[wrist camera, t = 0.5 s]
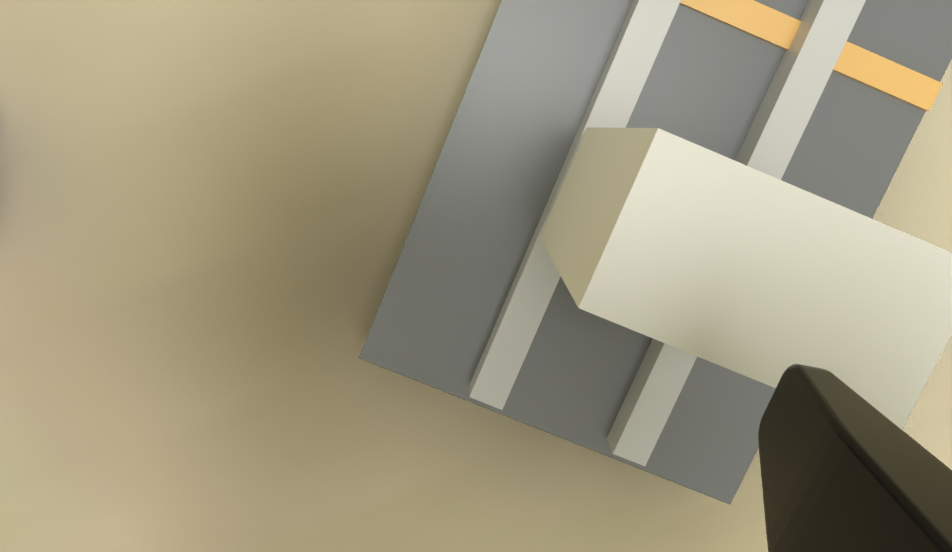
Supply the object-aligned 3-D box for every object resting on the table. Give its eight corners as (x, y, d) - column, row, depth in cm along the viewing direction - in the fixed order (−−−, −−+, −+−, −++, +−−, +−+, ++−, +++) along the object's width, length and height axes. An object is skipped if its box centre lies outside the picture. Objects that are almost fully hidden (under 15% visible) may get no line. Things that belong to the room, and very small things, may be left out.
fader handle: (714, 302, 24) (897, 438, 13) (534, 227, 24) (578, 307, 13) (760, 204, 23) (987, 267, 13) (576, 127, 23) (658, 128, 13)
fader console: (711, 477, 27) (742, 522, 24) (367, 340, 27) (352, 369, 23) (943, 3, 25) (1012, -15, 22) (569, -164, 24) (583, -208, 21)
